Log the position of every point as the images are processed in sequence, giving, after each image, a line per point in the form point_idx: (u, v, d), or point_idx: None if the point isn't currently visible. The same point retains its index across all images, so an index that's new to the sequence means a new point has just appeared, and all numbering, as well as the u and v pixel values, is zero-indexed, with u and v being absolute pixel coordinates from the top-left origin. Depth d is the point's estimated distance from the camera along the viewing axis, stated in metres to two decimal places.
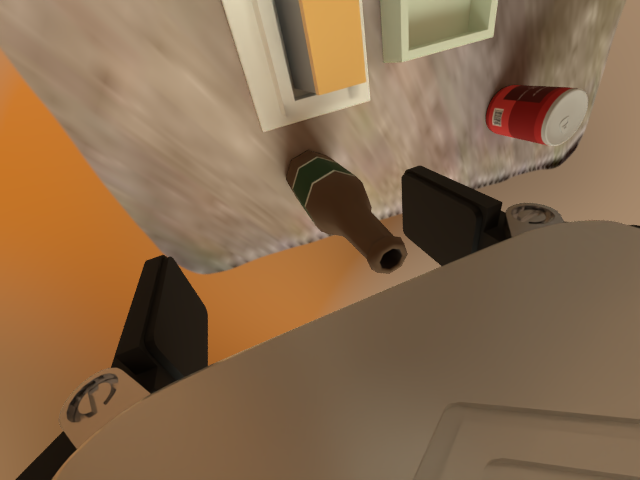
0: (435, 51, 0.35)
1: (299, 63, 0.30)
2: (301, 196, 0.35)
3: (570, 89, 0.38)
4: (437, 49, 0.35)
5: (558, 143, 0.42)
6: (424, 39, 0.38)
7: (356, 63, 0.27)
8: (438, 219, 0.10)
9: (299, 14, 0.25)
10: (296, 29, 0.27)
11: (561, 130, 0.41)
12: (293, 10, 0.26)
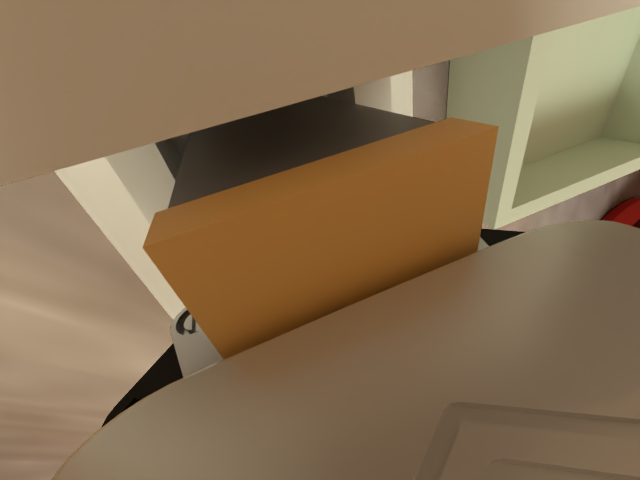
0: (561, 199, 0.17)
1: None
2: None
3: None
4: (566, 196, 0.17)
5: None
6: (525, 159, 0.19)
7: None
8: None
9: None
10: None
11: None
12: None
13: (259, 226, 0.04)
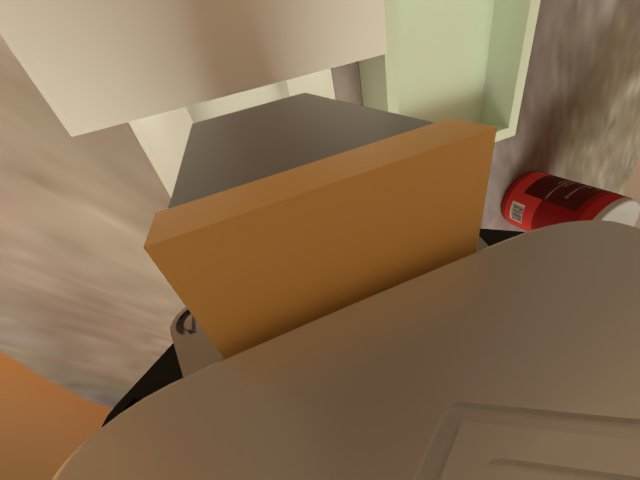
0: None
1: None
2: None
3: (618, 200, 0.29)
4: None
5: None
6: None
7: None
8: None
9: None
10: None
11: None
12: None
13: (259, 226, 0.04)
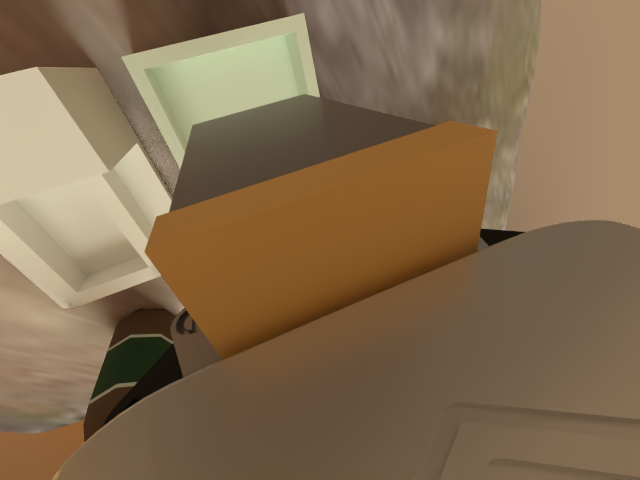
0: None
1: None
2: None
3: None
4: None
5: None
6: None
7: None
8: None
9: None
10: None
11: None
12: None
13: (260, 230, 0.04)
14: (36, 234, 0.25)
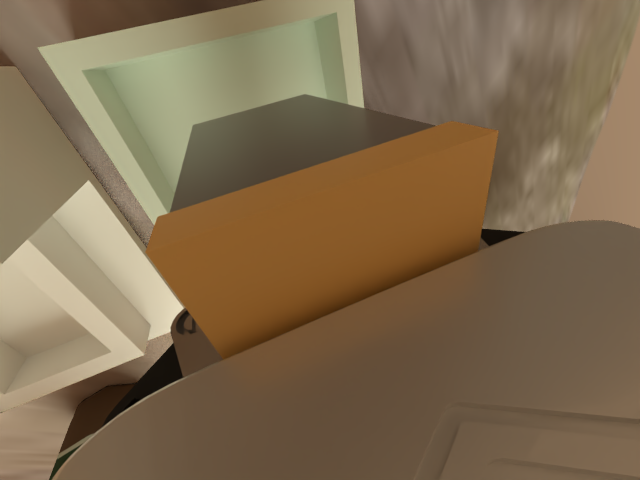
0: None
1: None
2: None
3: None
4: None
5: None
6: None
7: None
8: None
9: None
10: None
11: None
12: None
13: (261, 230, 0.04)
14: None
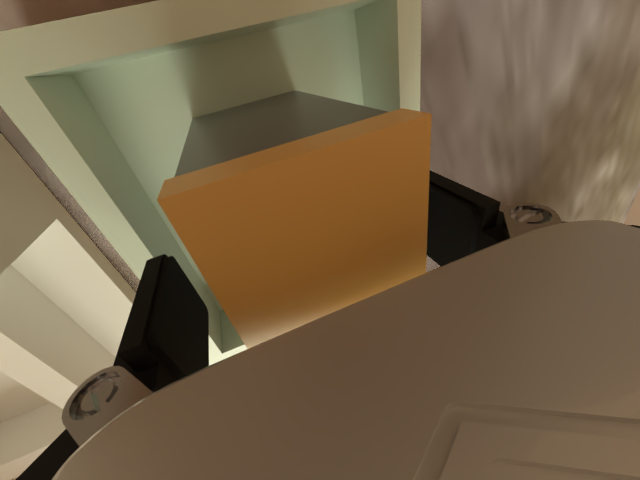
0: None
1: None
2: None
3: None
4: None
5: None
6: None
7: None
8: (436, 219, 0.10)
9: None
10: None
11: None
12: None
13: (243, 187, 0.05)
14: None
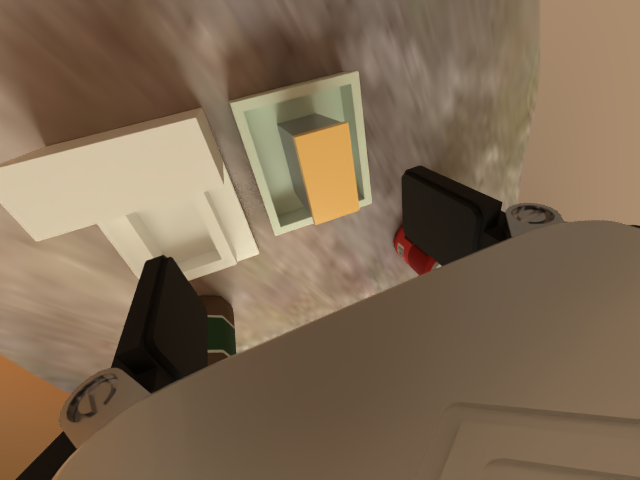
0: (310, 223, 0.37)
1: (298, 185, 0.32)
2: None
3: None
4: (312, 221, 0.37)
5: None
6: None
7: (350, 197, 0.29)
8: (438, 219, 0.10)
9: (297, 160, 0.27)
10: (295, 165, 0.30)
11: None
12: (293, 152, 0.28)
13: (309, 136, 0.25)
14: (143, 230, 0.33)
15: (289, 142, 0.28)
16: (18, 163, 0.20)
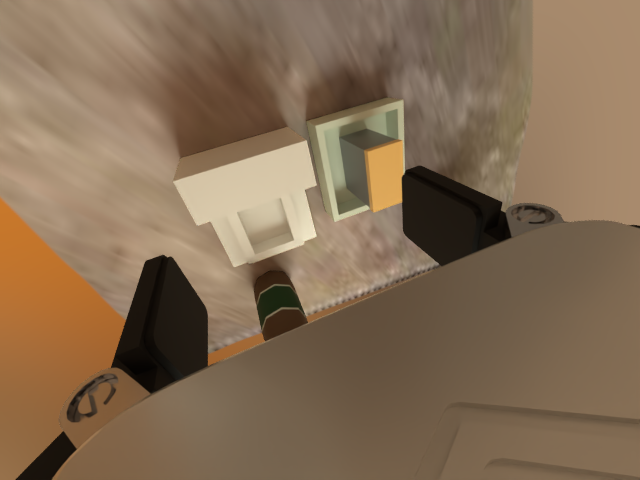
0: (360, 211, 0.48)
1: (356, 183, 0.43)
2: (260, 319, 0.47)
3: None
4: (361, 210, 0.48)
5: None
6: None
7: (398, 192, 0.41)
8: (438, 219, 0.10)
9: (363, 166, 0.39)
10: (358, 169, 0.41)
11: None
12: (358, 160, 0.40)
13: (377, 150, 0.36)
14: (240, 218, 0.44)
15: (355, 153, 0.40)
16: (198, 173, 0.31)
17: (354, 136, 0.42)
